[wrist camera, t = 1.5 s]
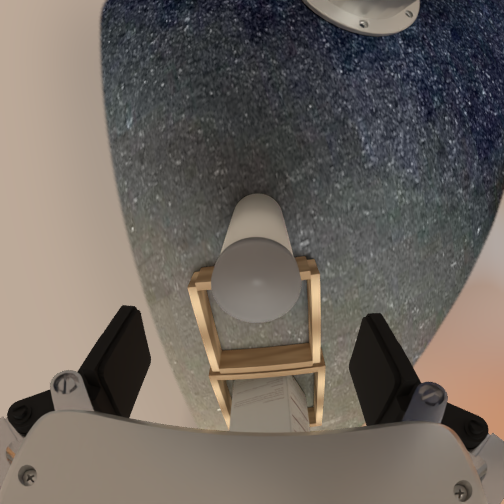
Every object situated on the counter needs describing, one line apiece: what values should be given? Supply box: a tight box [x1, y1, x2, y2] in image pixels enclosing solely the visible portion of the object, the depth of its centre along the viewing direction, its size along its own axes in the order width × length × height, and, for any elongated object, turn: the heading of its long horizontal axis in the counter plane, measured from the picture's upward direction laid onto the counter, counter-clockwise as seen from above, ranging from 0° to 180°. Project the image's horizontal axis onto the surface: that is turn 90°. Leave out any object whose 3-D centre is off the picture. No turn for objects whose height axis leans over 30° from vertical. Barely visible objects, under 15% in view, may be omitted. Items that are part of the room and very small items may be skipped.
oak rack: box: [188, 256, 325, 429], centre depth 31 cm, size 25×13×3 cm, turn 8°
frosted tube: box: [211, 193, 301, 323], centre depth 20 cm, size 5×5×12 cm
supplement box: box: [229, 375, 310, 433], centre depth 29 cm, size 7×7×13 cm
